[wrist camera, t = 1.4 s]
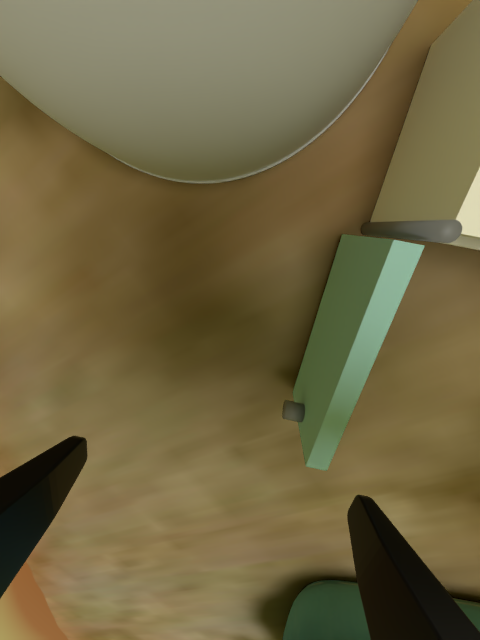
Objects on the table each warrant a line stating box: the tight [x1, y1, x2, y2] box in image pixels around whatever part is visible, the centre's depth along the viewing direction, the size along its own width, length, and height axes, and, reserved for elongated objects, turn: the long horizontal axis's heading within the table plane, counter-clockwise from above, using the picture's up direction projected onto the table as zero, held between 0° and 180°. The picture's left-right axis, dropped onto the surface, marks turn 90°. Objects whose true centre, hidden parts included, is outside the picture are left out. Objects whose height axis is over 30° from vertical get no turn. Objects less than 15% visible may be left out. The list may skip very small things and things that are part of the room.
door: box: [282, 234, 424, 471], centre depth 15 cm, size 12×2×7 cm, turn 170°
